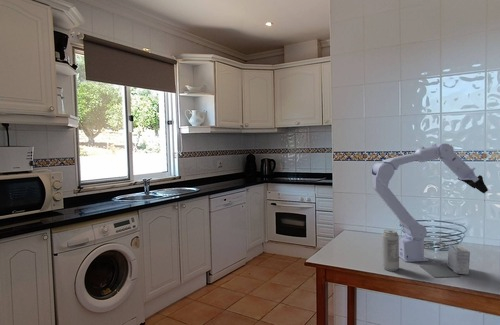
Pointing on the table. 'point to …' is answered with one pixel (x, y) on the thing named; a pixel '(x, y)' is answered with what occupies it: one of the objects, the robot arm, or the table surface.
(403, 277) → the table surface
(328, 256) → the table surface
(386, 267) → the energy drink can
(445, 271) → the mat
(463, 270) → the medicine box
